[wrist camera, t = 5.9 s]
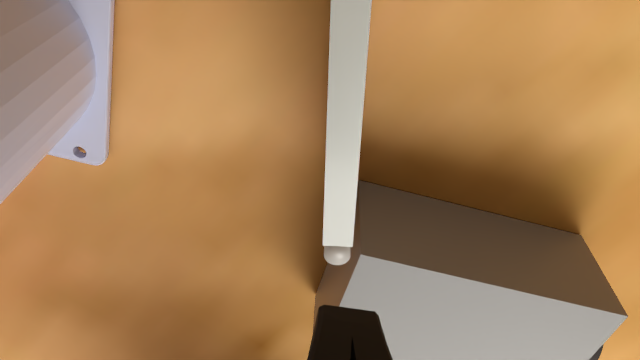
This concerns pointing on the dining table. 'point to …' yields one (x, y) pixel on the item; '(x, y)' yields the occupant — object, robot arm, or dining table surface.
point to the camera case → (470, 282)
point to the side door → (344, 123)
